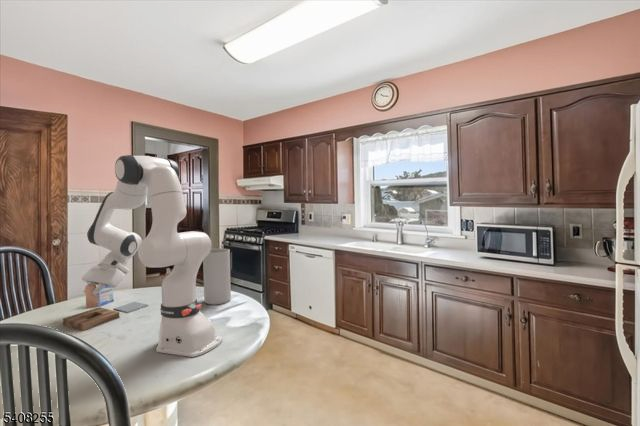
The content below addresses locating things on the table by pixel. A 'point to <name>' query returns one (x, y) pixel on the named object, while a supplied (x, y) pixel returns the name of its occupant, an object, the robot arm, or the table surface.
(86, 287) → the peg
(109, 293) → the medicine box
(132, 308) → the mat
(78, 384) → the table surface
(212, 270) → the cylinder vase
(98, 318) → the pocket block
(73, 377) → the table surface
